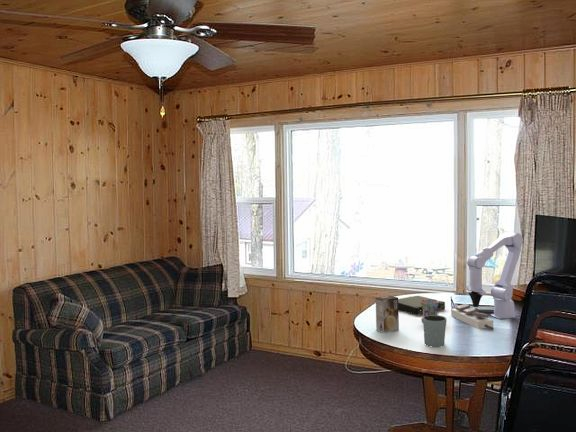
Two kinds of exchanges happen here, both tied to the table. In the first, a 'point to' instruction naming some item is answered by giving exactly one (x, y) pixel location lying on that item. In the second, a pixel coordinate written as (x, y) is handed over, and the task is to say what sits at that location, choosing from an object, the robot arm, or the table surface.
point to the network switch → (415, 305)
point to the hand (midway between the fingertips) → (475, 306)
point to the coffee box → (387, 314)
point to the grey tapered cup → (434, 330)
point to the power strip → (473, 319)
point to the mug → (429, 307)
